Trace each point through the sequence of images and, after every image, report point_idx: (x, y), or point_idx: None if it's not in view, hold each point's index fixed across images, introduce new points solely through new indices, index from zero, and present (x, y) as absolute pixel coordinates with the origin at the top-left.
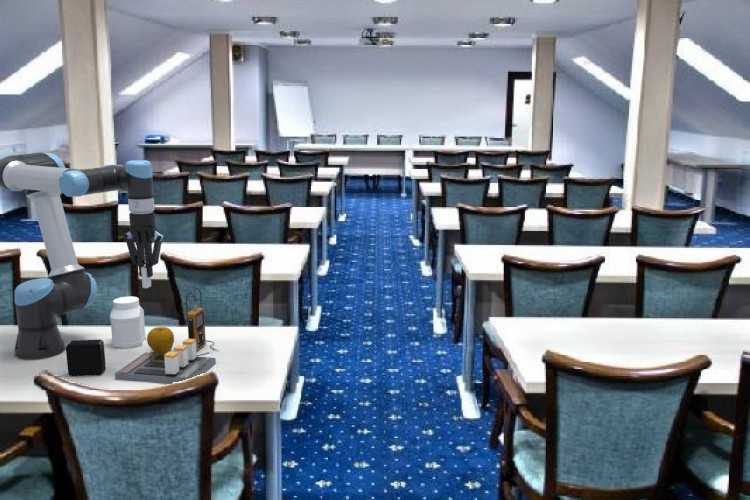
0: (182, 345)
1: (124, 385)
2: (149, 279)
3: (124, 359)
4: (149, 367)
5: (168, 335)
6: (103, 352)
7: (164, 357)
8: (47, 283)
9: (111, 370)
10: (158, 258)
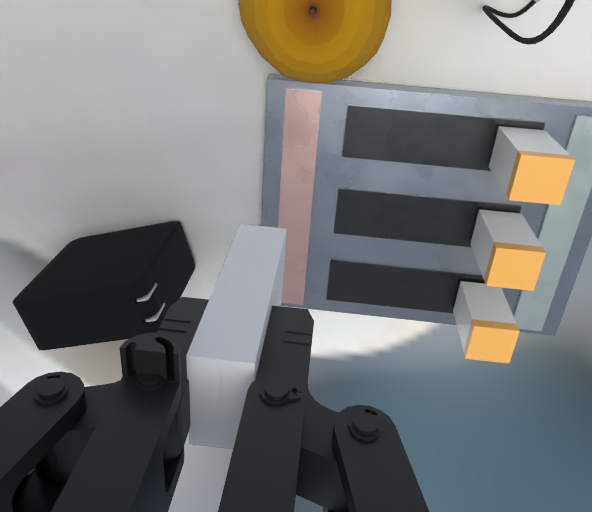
0: (520, 252)
1: (318, 333)
2: (276, 291)
3: (185, 97)
4: (361, 243)
5: (376, 42)
6: (164, 269)
7: (464, 351)
8: None
9: (202, 218)
10: (416, 497)
